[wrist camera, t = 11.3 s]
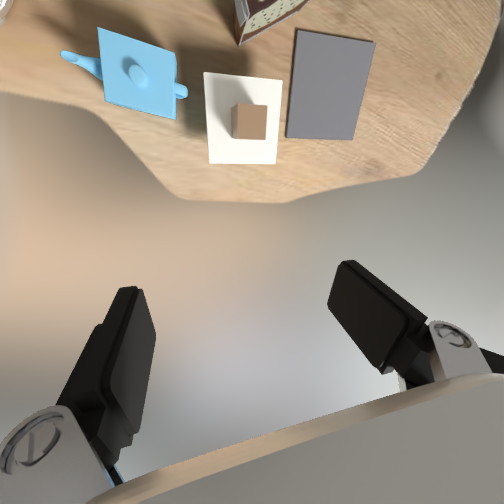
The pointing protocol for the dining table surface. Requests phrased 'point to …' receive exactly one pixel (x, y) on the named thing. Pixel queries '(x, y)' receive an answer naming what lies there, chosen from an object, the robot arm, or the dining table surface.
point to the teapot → (134, 74)
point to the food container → (261, 16)
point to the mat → (327, 86)
